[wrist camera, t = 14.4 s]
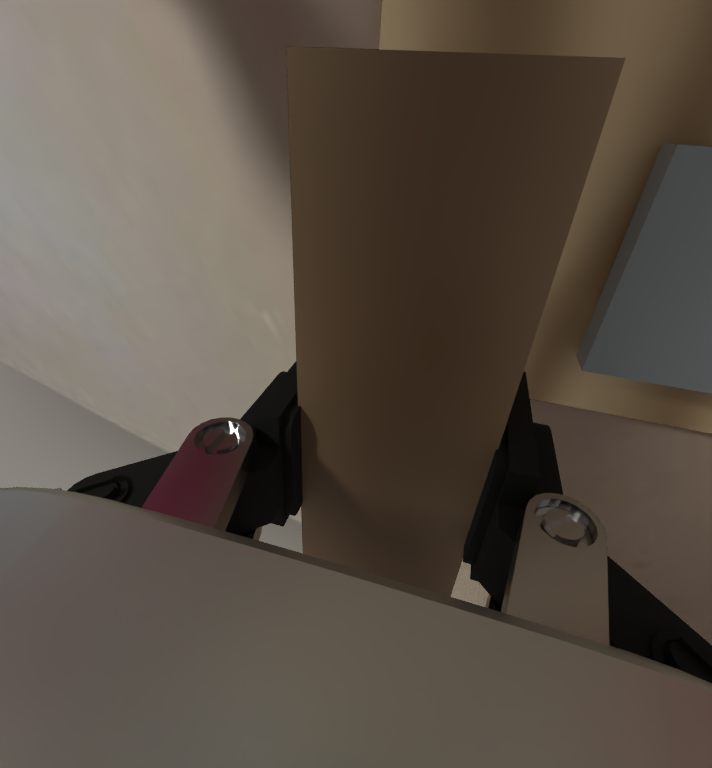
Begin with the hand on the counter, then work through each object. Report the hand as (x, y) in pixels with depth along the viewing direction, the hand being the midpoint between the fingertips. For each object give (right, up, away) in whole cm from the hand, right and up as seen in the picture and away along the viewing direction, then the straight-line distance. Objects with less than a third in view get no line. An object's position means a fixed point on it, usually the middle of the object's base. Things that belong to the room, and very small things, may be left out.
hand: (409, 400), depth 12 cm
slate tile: (+13, +8, +2) cm, 16 cm away
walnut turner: (0, +1, +1) cm, 1 cm away
